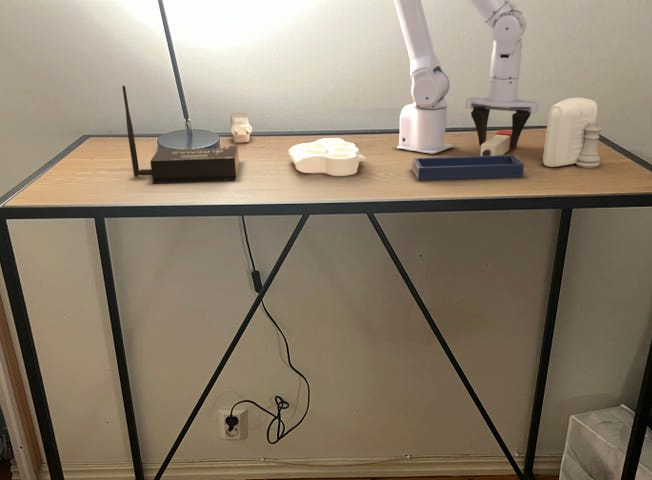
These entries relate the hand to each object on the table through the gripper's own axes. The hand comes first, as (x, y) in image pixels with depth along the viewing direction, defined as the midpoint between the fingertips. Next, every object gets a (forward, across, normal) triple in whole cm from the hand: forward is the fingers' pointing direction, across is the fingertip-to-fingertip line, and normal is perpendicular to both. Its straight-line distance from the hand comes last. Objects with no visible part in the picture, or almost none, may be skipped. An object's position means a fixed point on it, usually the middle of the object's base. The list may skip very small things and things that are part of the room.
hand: (497, 146), depth 151 cm
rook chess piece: (+2, -19, +3) cm, 19 cm away
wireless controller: (+2, +50, +41) cm, 65 cm away
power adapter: (+2, +55, +15) cm, 57 cm away
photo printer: (+2, -15, +3) cm, 15 cm away
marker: (+1, 0, 0) cm, 1 cm away
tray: (+1, 0, +18) cm, 18 cm away
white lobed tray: (+2, +28, +24) cm, 36 cm away
